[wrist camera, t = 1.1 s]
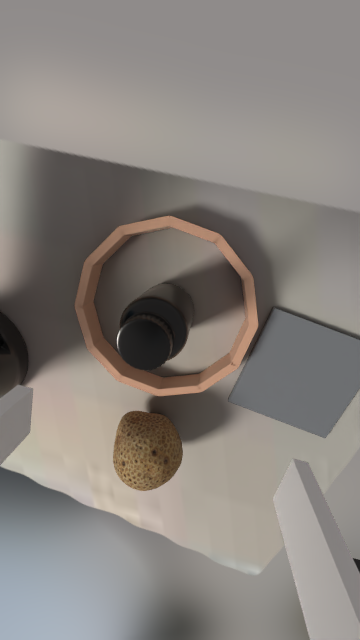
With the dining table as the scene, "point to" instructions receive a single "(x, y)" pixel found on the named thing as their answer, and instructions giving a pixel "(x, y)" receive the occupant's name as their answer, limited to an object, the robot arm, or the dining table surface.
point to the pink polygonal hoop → (109, 354)
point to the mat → (299, 373)
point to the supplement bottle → (155, 326)
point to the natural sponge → (146, 450)
